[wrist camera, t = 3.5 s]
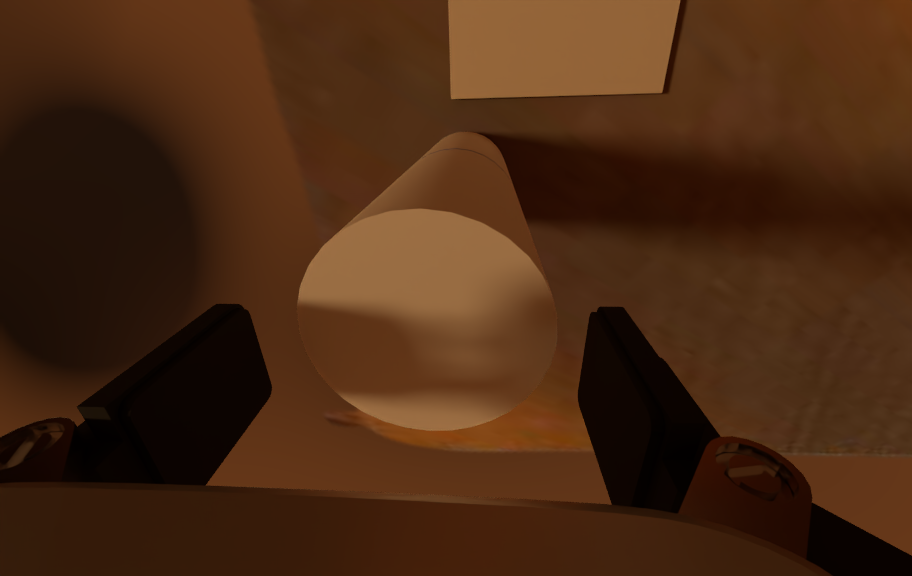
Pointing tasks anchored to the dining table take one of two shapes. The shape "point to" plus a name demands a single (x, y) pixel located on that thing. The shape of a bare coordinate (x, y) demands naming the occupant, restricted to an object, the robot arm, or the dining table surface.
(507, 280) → the cylindrical container
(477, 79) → the mat
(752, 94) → the dining table surface
